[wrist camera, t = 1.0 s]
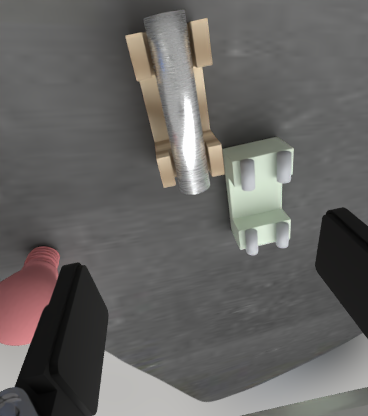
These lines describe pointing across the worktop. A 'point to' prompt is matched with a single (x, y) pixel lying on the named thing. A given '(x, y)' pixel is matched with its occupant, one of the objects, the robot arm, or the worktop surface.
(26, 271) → the light bulb
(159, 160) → the wooden cradle stand
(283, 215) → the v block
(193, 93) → the axle
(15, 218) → the worktop surface
